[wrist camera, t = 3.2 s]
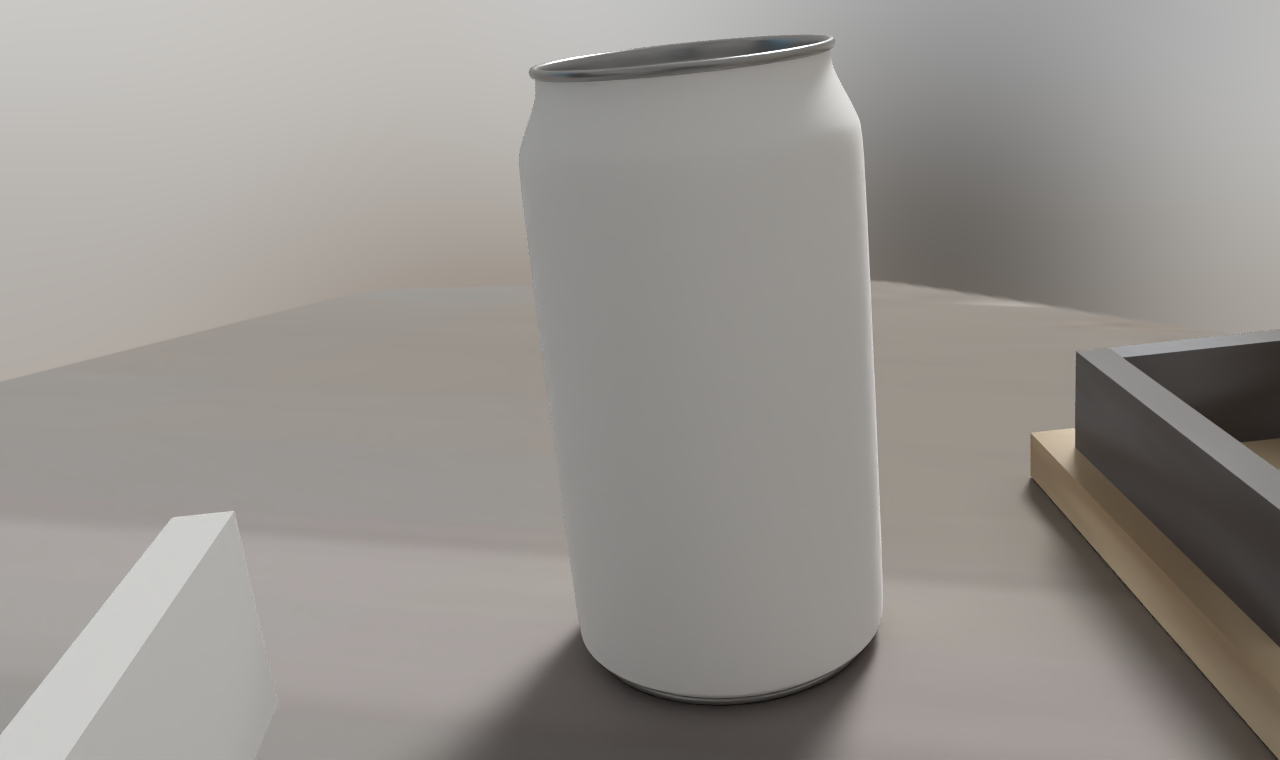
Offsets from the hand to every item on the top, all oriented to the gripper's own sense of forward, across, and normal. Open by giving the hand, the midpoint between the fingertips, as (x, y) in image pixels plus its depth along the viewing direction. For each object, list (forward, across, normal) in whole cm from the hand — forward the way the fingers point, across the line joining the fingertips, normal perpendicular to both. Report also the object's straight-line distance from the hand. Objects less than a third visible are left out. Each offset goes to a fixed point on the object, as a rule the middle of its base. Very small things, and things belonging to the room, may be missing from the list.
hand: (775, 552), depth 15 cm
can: (+10, 0, -7) cm, 12 cm away
